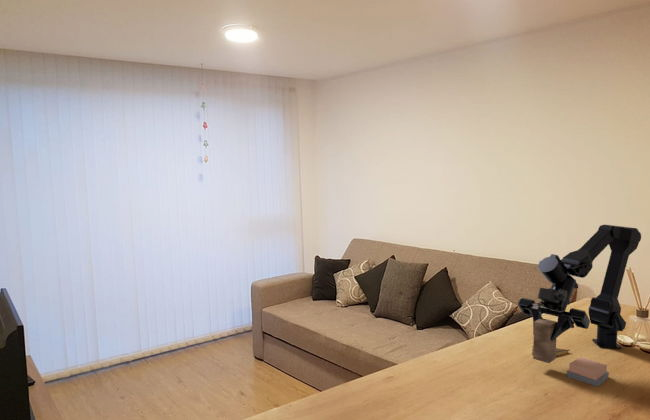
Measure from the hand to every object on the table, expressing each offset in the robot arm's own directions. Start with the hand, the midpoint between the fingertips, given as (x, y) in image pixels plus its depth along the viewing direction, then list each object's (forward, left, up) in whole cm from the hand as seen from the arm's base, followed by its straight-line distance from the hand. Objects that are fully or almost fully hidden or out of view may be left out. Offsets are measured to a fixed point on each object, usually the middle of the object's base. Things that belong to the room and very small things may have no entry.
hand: (542, 337), depth 134 cm
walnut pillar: (-1, +1, -7) cm, 7 cm away
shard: (-15, +5, -11) cm, 19 cm away
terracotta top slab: (+3, +11, -8) cm, 14 cm away
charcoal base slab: (+2, +11, -11) cm, 16 cm away
